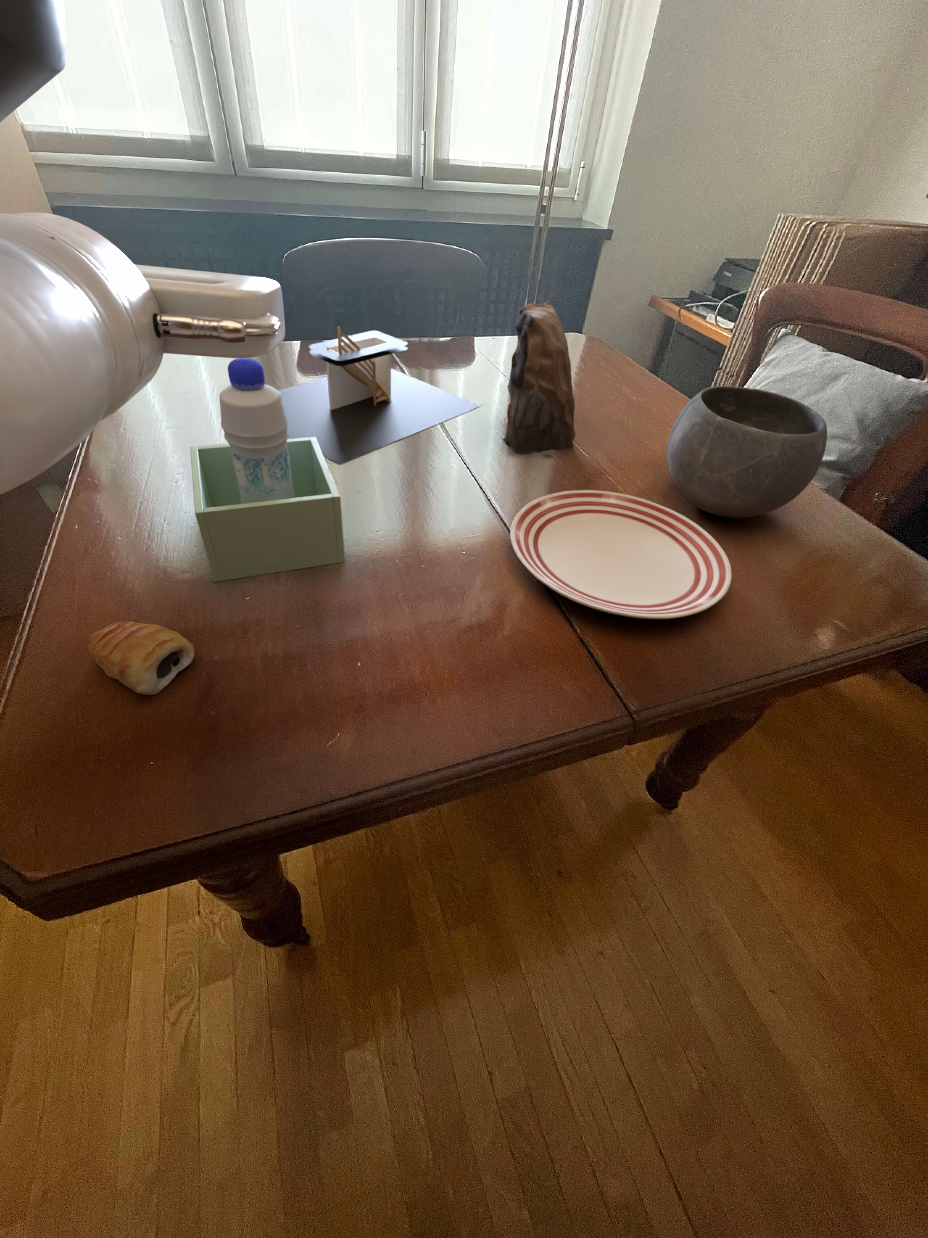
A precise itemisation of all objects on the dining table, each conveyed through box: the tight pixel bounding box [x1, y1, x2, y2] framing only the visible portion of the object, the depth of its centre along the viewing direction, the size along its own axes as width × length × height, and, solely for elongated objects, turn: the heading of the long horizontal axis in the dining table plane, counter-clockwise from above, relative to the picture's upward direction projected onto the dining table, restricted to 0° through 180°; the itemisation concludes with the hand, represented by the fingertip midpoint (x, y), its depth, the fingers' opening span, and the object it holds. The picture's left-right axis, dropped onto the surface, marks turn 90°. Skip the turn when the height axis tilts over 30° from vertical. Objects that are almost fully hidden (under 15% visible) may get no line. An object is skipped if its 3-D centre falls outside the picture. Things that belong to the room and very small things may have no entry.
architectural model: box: [276, 326, 481, 465], centre depth 94 cm, size 35×28×14 cm
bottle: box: [218, 358, 295, 504], centre depth 60 cm, size 7×7×20 cm
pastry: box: [87, 621, 196, 696], centre depth 51 cm, size 9×7×4 cm
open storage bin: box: [189, 437, 346, 583], centre depth 65 cm, size 15×15×9 cm
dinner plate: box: [509, 489, 732, 620], centre depth 69 cm, size 28×27×3 cm
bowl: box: [666, 385, 828, 519], centre depth 79 cm, size 20×20×15 cm
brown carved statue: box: [502, 300, 576, 455], centre depth 89 cm, size 13×13×20 cm
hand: (145, 285), depth 39 cm, fingers open, 8 cm apart
